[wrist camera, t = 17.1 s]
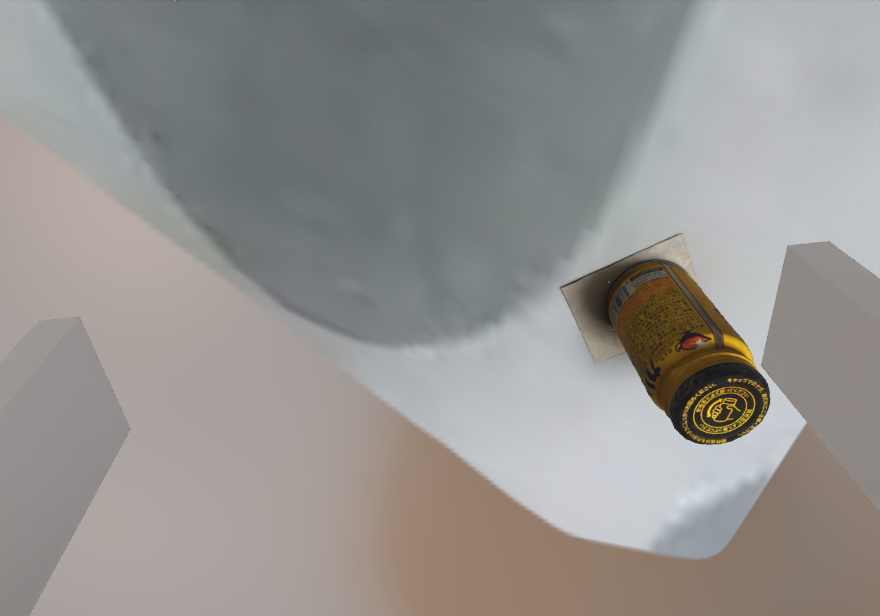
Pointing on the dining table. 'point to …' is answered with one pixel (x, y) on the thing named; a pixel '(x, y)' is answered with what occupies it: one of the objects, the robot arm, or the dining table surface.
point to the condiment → (672, 342)
